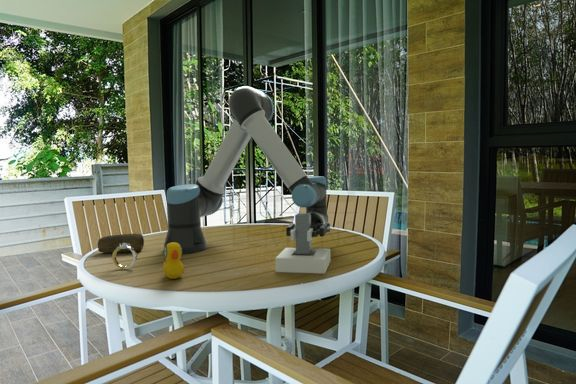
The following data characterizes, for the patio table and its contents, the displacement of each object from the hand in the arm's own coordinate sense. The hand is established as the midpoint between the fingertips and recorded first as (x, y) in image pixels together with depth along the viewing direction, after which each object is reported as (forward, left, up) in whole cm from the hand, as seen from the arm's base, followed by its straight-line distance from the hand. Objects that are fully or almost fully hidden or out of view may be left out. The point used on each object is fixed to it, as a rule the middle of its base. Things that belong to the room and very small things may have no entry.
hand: (300, 236), depth 115 cm
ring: (-51, +14, -10) cm, 54 cm away
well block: (+2, +5, -10) cm, 11 cm away
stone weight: (-59, +40, -10) cm, 72 cm away
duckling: (-35, +1, -10) cm, 37 cm away
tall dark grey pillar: (+2, +5, -8) cm, 9 cm away
